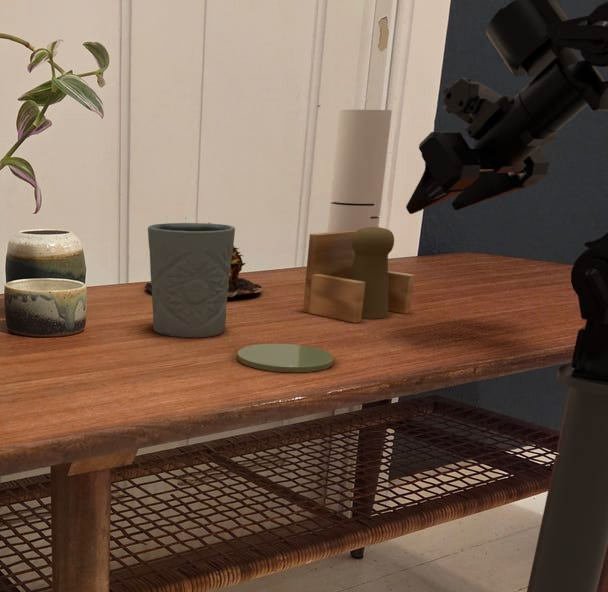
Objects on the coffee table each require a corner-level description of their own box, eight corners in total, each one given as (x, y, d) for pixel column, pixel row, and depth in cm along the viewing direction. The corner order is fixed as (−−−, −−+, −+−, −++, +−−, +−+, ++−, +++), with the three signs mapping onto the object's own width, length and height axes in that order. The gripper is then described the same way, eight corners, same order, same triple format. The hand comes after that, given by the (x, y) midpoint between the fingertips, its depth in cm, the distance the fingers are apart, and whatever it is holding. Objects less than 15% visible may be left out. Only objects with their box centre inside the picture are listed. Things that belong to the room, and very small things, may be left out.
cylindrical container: (313, 287, 134) (329, 109, 125) (354, 285, 136) (373, 110, 127) (337, 295, 128) (356, 109, 119) (380, 293, 130) (402, 110, 121)
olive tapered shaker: (331, 312, 116) (340, 226, 112) (359, 307, 120) (369, 224, 116) (369, 320, 112) (380, 231, 108) (397, 314, 116) (408, 228, 112)
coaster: (348, 358, 94) (349, 353, 93) (307, 378, 86) (308, 372, 86) (264, 344, 99) (265, 339, 99) (219, 361, 92) (219, 356, 91)
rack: (410, 312, 117) (420, 235, 113) (355, 323, 111) (364, 241, 107) (357, 302, 123) (365, 228, 120) (302, 311, 117) (309, 233, 113)
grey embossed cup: (199, 342, 99) (204, 233, 95) (128, 330, 105) (129, 226, 100) (245, 328, 107) (251, 225, 102) (176, 317, 112) (179, 219, 108)
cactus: (136, 298, 124) (137, 226, 120) (153, 280, 138) (154, 216, 135) (259, 304, 121) (264, 231, 117) (263, 285, 136) (268, 219, 132)
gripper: (544, 56, 100) (443, 154, 112) (450, 46, 89) (349, 156, 101) (597, 134, 97) (488, 225, 110) (506, 133, 87) (396, 234, 99)
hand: (431, 208), depth 105 cm, fingers open, 9 cm apart
